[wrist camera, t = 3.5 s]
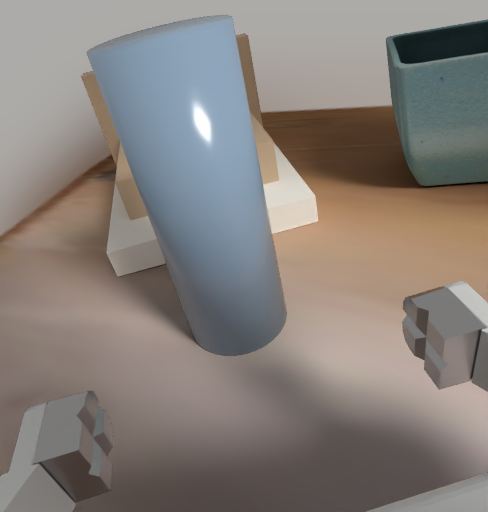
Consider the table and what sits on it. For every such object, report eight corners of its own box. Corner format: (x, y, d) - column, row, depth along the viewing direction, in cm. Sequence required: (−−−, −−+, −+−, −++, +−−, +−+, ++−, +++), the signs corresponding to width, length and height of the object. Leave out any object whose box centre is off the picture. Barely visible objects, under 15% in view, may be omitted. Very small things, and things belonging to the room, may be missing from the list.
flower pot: (384, 151, 36) (384, 34, 31) (502, 139, 34) (524, 11, 28) (392, 204, 29) (394, 66, 24) (540, 195, 27) (578, 39, 22)
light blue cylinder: (272, 276, 25) (220, 10, 17) (299, 338, 21) (245, 23, 13) (187, 300, 25) (93, 41, 17) (197, 367, 21) (78, 65, 13)
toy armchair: (263, 144, 42) (244, 33, 36) (318, 221, 29) (302, 67, 23) (124, 180, 41) (83, 73, 36) (117, 276, 28) (49, 131, 23)
